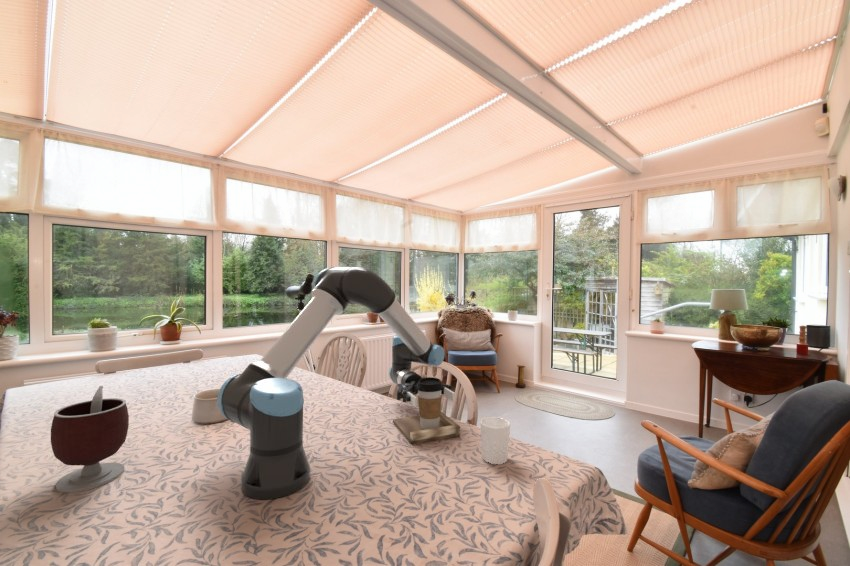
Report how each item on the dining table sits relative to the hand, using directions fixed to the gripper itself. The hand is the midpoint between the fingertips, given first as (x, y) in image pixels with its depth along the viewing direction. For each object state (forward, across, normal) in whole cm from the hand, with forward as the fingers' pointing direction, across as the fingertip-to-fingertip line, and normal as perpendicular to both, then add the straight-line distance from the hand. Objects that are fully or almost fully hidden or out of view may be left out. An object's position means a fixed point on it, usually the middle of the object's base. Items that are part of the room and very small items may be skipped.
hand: (435, 399), depth 115 cm
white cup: (+20, -9, -11) cm, 24 cm away
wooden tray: (-5, +1, -11) cm, 13 cm away
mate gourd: (-9, +87, -11) cm, 88 cm away
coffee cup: (-4, 0, -10) cm, 11 cm away
